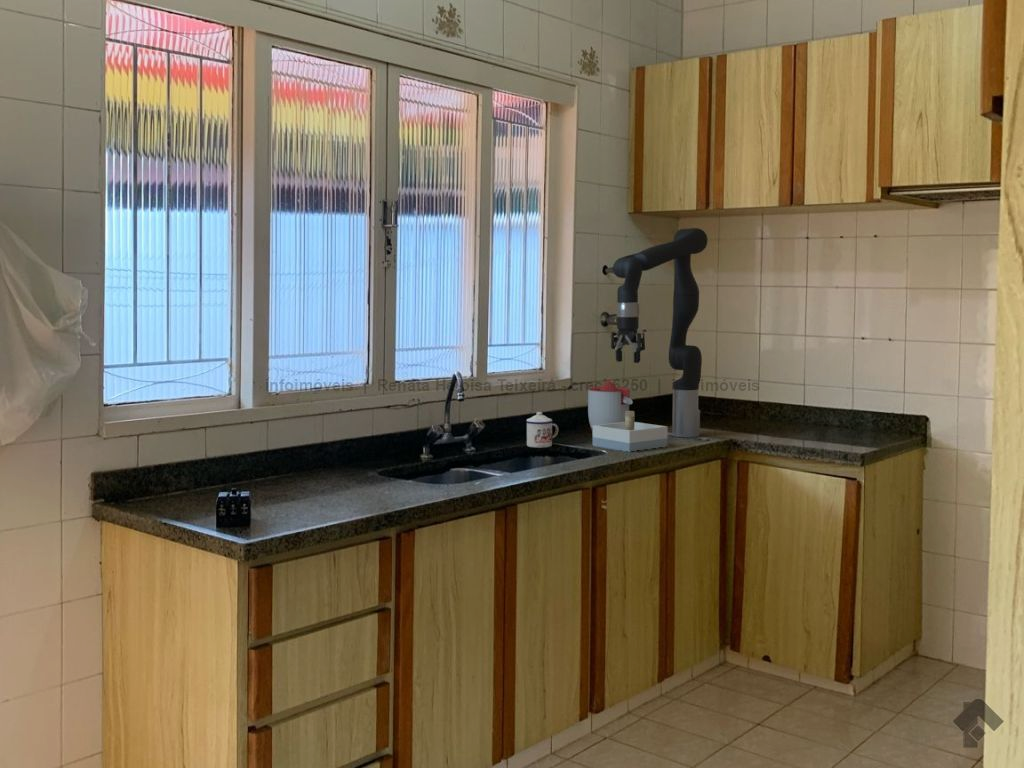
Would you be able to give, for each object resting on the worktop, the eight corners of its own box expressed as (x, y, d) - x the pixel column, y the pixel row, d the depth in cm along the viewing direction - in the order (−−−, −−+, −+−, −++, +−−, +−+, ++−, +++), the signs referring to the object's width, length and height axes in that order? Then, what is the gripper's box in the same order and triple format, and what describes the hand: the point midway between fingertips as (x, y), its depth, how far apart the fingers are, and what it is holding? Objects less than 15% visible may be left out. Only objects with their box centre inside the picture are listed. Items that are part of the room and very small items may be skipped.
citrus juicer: (619, 438, 374) (619, 383, 372) (579, 434, 384) (579, 380, 382) (641, 433, 386) (641, 380, 384) (601, 429, 397) (602, 377, 395)
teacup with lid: (534, 448, 350) (534, 414, 349) (521, 445, 358) (521, 411, 357) (564, 445, 356) (564, 412, 355) (550, 442, 364) (550, 409, 363)
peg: (629, 445, 357) (629, 410, 356) (636, 446, 355) (636, 411, 354) (622, 446, 355) (623, 411, 354) (629, 447, 353) (629, 412, 352)
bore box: (630, 440, 368) (630, 421, 367) (667, 446, 353) (667, 426, 353) (592, 445, 356) (592, 425, 356) (629, 452, 342) (629, 431, 342)
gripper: (650, 315, 356) (650, 362, 358) (620, 314, 367) (621, 360, 369) (634, 316, 352) (634, 364, 353) (605, 315, 363) (605, 361, 364)
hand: (627, 362), depth 361 cm, fingers open, 8 cm apart
